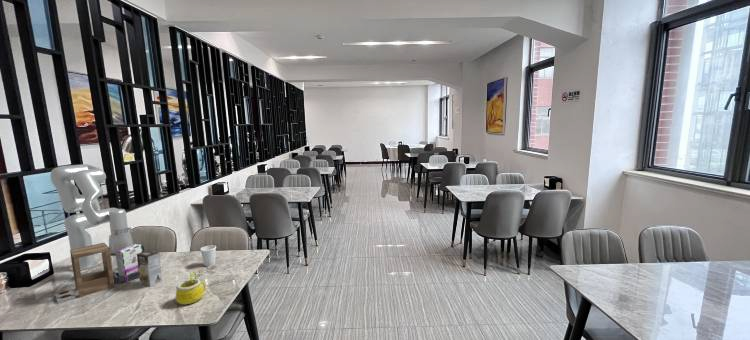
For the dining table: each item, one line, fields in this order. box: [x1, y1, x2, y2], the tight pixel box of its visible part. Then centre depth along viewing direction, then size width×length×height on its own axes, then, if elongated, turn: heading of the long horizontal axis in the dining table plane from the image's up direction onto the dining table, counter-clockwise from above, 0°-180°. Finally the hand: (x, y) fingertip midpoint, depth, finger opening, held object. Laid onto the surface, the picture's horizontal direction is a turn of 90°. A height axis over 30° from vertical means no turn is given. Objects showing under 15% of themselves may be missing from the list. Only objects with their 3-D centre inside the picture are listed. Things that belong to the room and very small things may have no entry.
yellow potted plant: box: [175, 269, 207, 305], centre depth 148 cm, size 13×11×12 cm
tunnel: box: [69, 242, 115, 298], centre depth 161 cm, size 13×13×21 cm
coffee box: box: [137, 249, 163, 287], centre depth 166 cm, size 9×6×16 cm
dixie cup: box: [199, 245, 217, 267], centre depth 188 cm, size 8×8×10 cm
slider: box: [113, 244, 145, 284], centre depth 177 cm, size 19×16×12 cm
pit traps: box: [54, 288, 76, 305], centre depth 154 cm, size 12×6×1 cm, turn 49°
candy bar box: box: [115, 243, 142, 283], centre depth 173 cm, size 11×5×16 cm, turn 168°
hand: (123, 263), depth 181 cm, fingers closed
